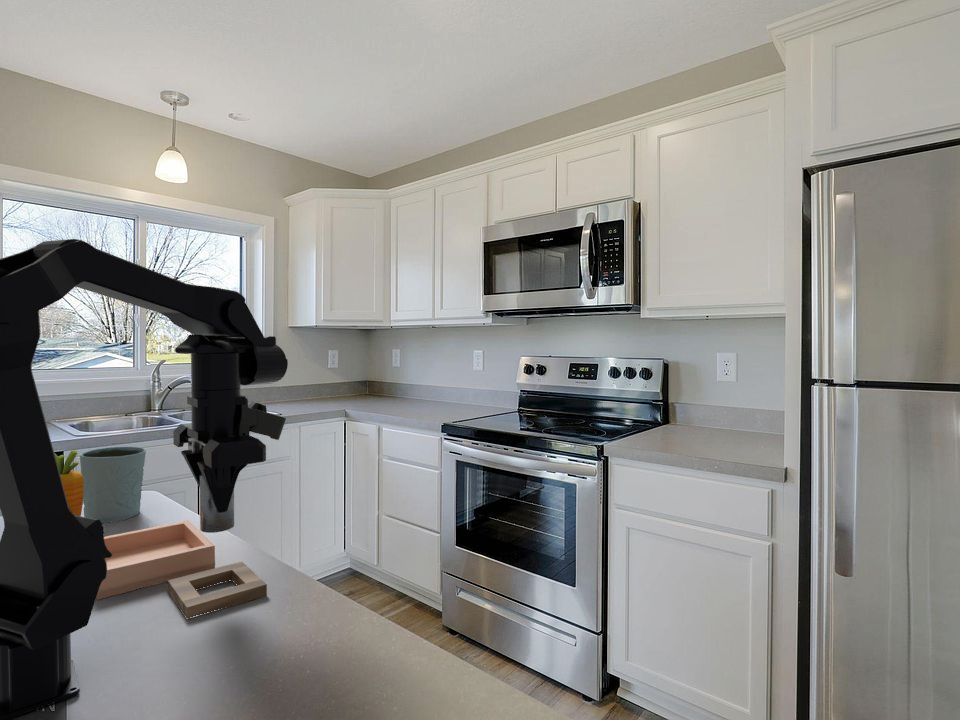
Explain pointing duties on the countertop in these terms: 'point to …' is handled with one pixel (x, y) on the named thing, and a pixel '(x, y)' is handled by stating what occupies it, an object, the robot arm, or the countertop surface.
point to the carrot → (71, 482)
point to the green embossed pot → (112, 482)
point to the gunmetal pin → (214, 512)
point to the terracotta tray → (155, 557)
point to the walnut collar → (196, 604)
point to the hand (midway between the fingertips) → (217, 507)
